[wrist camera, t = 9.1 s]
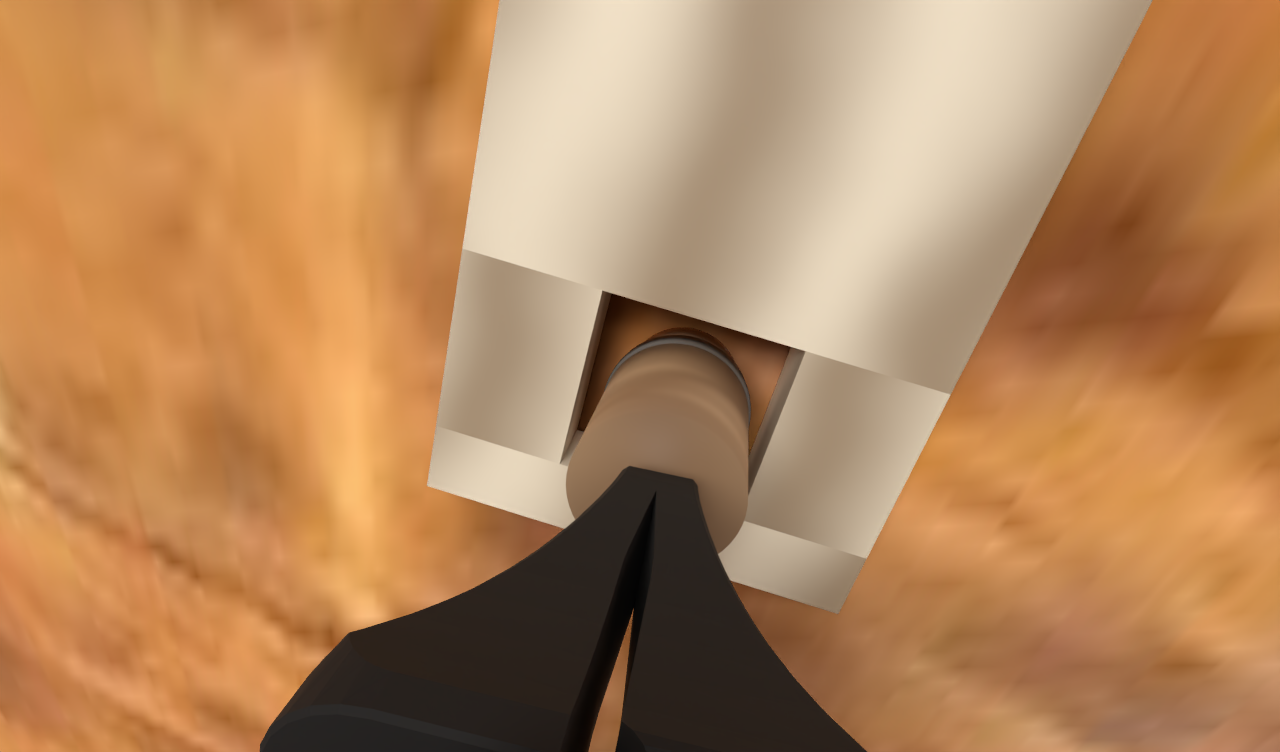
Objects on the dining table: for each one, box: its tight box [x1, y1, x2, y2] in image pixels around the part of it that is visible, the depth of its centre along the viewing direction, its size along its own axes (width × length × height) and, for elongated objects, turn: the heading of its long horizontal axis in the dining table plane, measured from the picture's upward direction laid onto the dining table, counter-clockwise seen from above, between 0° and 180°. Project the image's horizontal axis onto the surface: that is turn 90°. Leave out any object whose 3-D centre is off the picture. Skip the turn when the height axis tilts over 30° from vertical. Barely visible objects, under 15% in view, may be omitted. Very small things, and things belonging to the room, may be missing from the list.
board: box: [427, 0, 1152, 614], centre depth 16 cm, size 12×16×2 cm
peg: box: [566, 328, 751, 554], centre depth 16 cm, size 4×4×6 cm
